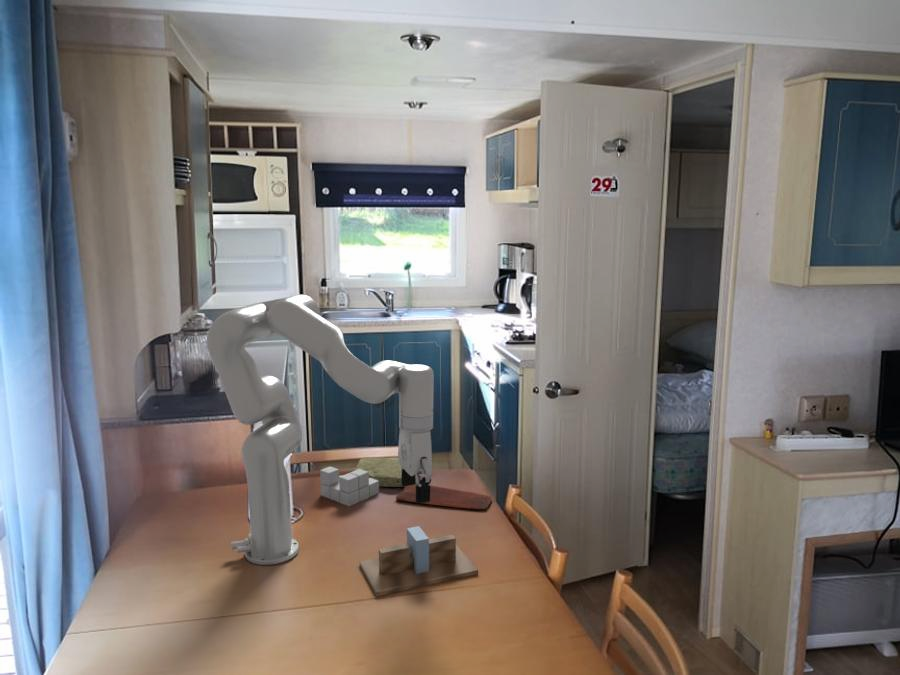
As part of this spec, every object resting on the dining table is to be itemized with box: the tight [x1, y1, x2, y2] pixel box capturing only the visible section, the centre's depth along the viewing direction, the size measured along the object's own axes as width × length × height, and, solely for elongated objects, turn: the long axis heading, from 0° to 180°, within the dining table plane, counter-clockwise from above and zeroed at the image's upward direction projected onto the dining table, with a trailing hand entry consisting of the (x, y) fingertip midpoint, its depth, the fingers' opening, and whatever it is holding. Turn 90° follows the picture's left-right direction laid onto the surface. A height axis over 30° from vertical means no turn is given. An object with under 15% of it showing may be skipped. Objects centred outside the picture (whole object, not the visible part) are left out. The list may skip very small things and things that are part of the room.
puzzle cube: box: [319, 466, 380, 507], centre depth 198 cm, size 12×12×8 cm
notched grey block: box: [406, 525, 430, 574], centre depth 156 cm, size 7×3×8 cm, turn 22°
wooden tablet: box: [395, 484, 492, 510], centre depth 194 cm, size 27×10×2 cm, turn 74°
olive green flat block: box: [355, 456, 422, 488], centre depth 210 cm, size 19×6×20 cm
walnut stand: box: [359, 534, 479, 597], centre depth 157 cm, size 24×14×6 cm, turn 112°
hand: (415, 493), depth 154 cm, fingers open, 9 cm apart
